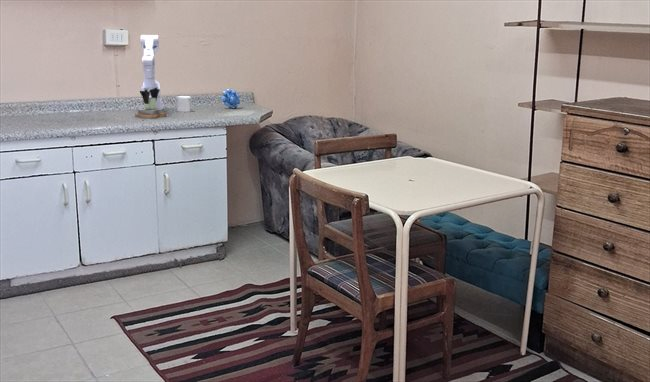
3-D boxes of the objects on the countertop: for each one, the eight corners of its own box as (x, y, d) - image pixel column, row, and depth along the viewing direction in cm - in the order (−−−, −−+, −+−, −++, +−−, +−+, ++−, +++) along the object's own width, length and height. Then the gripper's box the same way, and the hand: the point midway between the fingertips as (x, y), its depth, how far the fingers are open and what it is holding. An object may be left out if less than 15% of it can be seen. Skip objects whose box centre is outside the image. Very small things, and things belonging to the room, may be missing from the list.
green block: (149, 108, 403) (148, 97, 401) (156, 108, 401) (155, 97, 400) (144, 109, 398) (144, 98, 397) (151, 109, 397) (151, 98, 396)
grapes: (223, 109, 434) (223, 89, 431) (220, 108, 440) (220, 88, 437) (242, 108, 438) (242, 89, 435) (238, 107, 444) (238, 87, 441)
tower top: (150, 111, 407) (150, 107, 407) (164, 113, 403) (164, 108, 402) (138, 113, 399) (137, 109, 398) (152, 115, 394) (152, 110, 393)
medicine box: (192, 111, 426) (191, 96, 424) (189, 112, 422) (189, 97, 420) (178, 110, 427) (178, 96, 425) (176, 111, 423) (176, 96, 421)
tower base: (150, 115, 409) (149, 111, 408) (166, 117, 404) (166, 113, 403) (135, 118, 399) (135, 113, 398) (152, 120, 393) (151, 115, 393)
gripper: (150, 76, 404) (151, 101, 407) (135, 78, 391) (136, 104, 394) (161, 77, 402) (162, 101, 405) (146, 79, 388) (147, 104, 392)
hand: (150, 103), depth 399 cm, fingers open, 7 cm apart
